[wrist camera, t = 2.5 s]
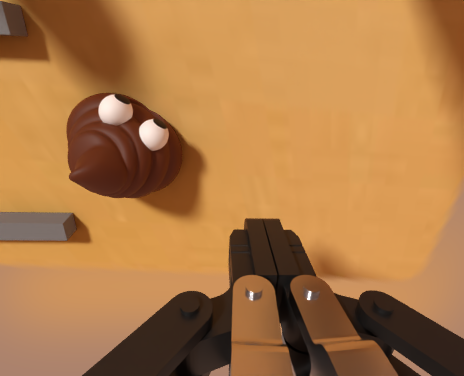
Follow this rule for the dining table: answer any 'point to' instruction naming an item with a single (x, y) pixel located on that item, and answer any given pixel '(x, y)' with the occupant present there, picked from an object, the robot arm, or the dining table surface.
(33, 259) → the dining table surface
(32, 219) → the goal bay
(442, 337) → the robot arm
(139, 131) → the poop emoji
